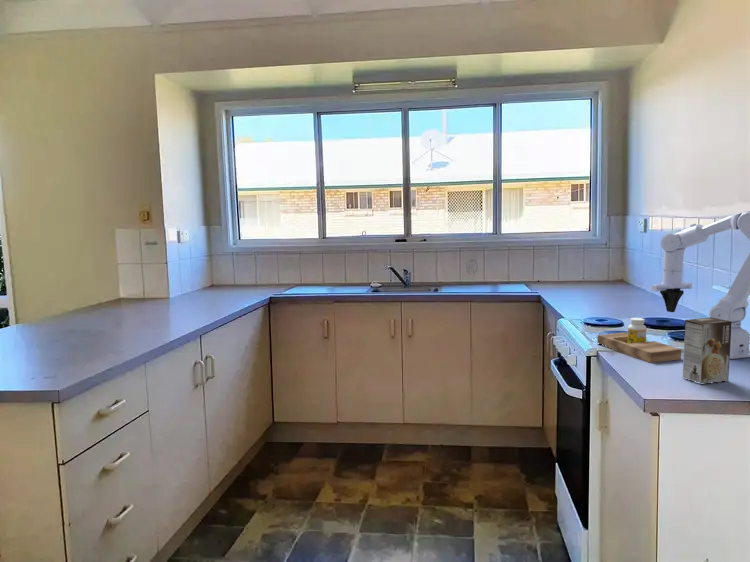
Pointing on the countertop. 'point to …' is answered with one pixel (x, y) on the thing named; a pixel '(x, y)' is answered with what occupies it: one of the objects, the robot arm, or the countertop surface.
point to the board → (640, 348)
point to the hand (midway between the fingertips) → (670, 311)
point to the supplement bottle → (636, 331)
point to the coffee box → (707, 350)
